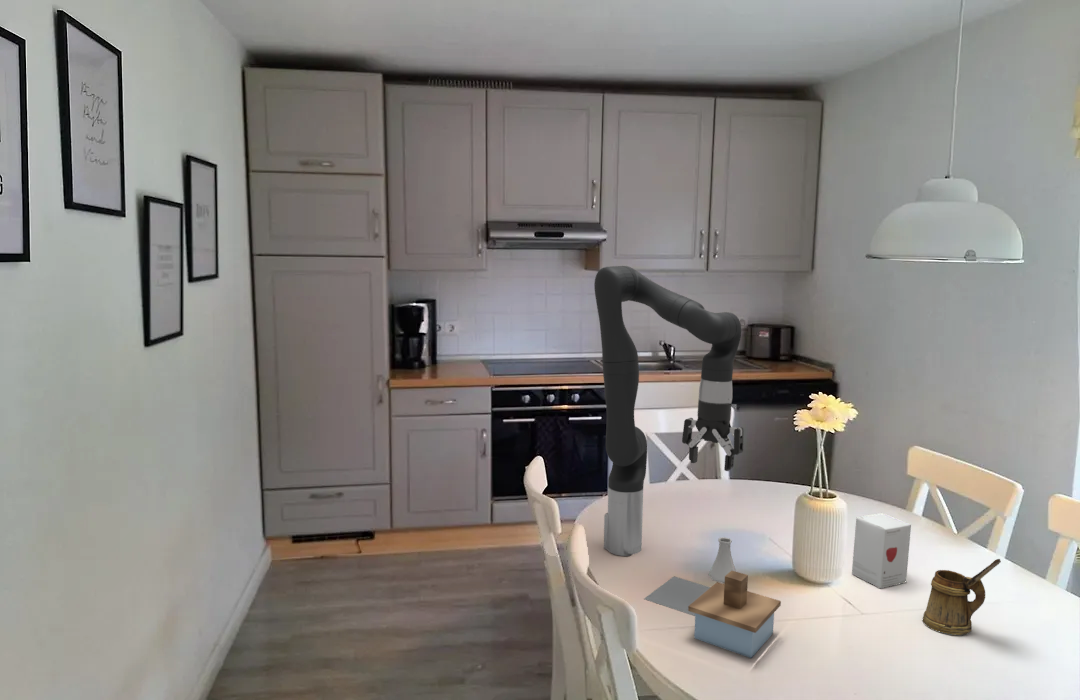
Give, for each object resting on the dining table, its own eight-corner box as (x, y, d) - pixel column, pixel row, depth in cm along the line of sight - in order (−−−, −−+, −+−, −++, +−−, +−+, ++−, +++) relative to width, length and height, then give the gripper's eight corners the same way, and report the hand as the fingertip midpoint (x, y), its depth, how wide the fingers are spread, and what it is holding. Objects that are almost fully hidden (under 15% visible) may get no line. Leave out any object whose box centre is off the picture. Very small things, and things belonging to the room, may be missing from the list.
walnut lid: (688, 610, 147) (689, 578, 146) (716, 586, 158) (718, 555, 157) (755, 633, 138) (757, 598, 137) (780, 605, 149) (782, 573, 149)
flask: (739, 587, 172) (741, 546, 171) (708, 583, 174) (710, 544, 172) (737, 574, 179) (739, 535, 178) (707, 571, 181) (709, 532, 179)
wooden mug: (984, 650, 145) (992, 565, 143) (915, 623, 156) (921, 543, 153) (1001, 636, 151) (1009, 554, 148) (933, 611, 161) (940, 533, 159)
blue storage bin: (694, 640, 148) (695, 610, 147) (718, 617, 157) (719, 589, 156) (751, 661, 141) (752, 629, 140) (772, 635, 150) (774, 606, 149)
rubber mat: (643, 601, 164) (643, 598, 164) (673, 578, 176) (673, 576, 176) (705, 622, 155) (705, 619, 155) (732, 596, 167) (732, 594, 167)
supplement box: (880, 589, 171) (885, 529, 170) (850, 574, 180) (854, 516, 178) (907, 583, 175) (912, 523, 173) (877, 568, 183) (881, 511, 181)
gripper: (679, 396, 169) (675, 463, 171) (737, 406, 160) (732, 476, 162) (694, 391, 175) (690, 457, 177) (751, 401, 166) (745, 469, 168)
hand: (710, 466), depth 170 cm, fingers open, 8 cm apart
